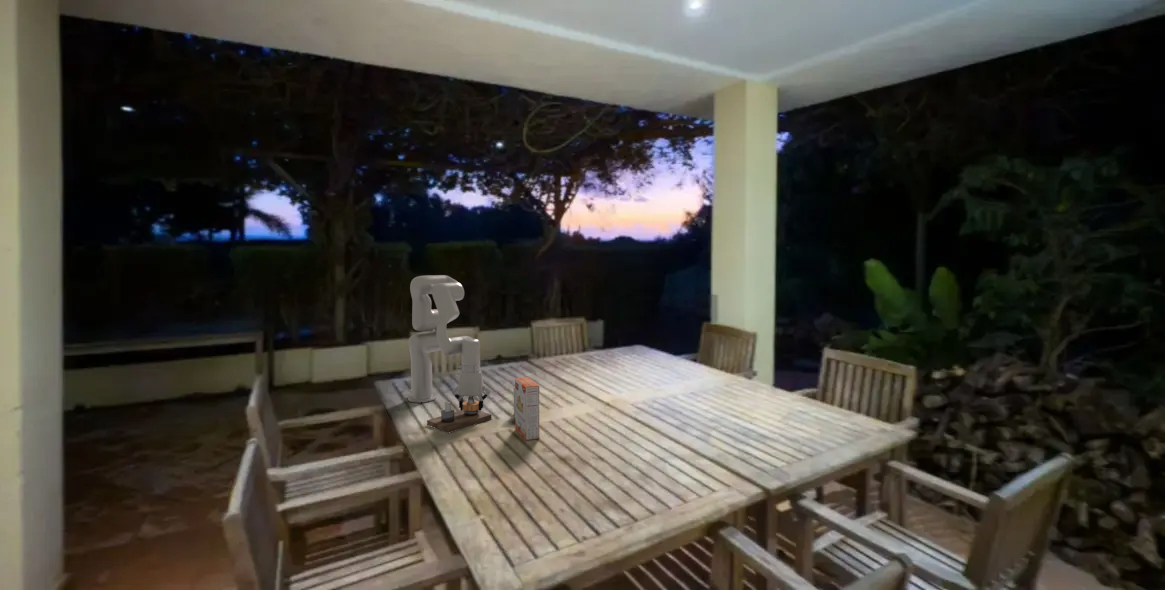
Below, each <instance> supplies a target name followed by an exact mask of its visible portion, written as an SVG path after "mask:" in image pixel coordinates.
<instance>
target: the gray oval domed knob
mask: <svg viewBox="0 0 1165 590" xmlns="http://www.w3.org/2000/svg"><path fill="white" fill-rule="evenodd" d="M451 406H452V402H451V401H446V402H444V409H442V410H441V412H440V414H441V415H440V416H441V422H443V423H451V422H454V421H455V420H454V412H455V410H454V409H451V408H452V407H451Z"/></svg>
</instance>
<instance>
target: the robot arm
mask: <svg viewBox="0 0 1165 590" xmlns="http://www.w3.org/2000/svg"><path fill="white" fill-rule="evenodd" d="M409 286H410V287H409V289H410V295H411V296H410V297H411V299H412V301H411V303H412V308H411V309H412V313H411V317H412V319H411V321H412V322H411V324H412V328H413V329H414V330H415V331H419V333H418V332H417V333H415V334H413V335H411V336H410V337H409V338H408V342H407V343H408V344H407V345H408V349H409V350H408V351H409V356H410V378H411V379H410V387H411V388H410V389H408V392H409V393H410V395H409V396H408V398H407V401H409V402H411V403H419V404H421V402H422V403H428V401H429V402H432V401H435V400H436V398H437V396H436V394H433V364H432V363H433V362H432V361H433V360H431V357H430V356H428V354H429V353H433V352H439V351H441V353H442V354H443V356H448V357H450V356H456V355H461V364H460V365H458V366H457V368H458V369H459V370H460V372H459V374H458V381H457V383H458V385H457V386H456V387H455V388H454V389H452V391H451V394H452V395H453V396H454V397H455V399H457V401H458V408H459V411H462V410H463V409H462V403H463V402H465V401H464V399H463V398H464V397H469V396H473V397H478V399H479V400H478V401H479V411H482V409H484V400H485V399H486V398H487V397H488V396H489V395H490V393H491V390H490V389H489V388H488V387H487V386H485V385H484V378H483V373H482V370H481V343H480V340H479V339H478V338H472V337H471V336H469V335H461V336H460V335H459V336H454V337H453V336H452V337H449V336H448V333H447V324H449V323H450V322H453V321H454V320H456V319H457V318H458V317H459V315H460V310H459V306H458V305H457V301H461V300H463V299H464V297H465V289H464V286H463V285H462V284H461V283H460V282H458V281H457V280H456V279H454V278H452V277H451V276H449V275H445V274H443V275H442V274H439V275H437V274H435V275H430V274H428V275H419V276H418V275H417V276H416V277H414V278H413V279H412V280H411V282H410V285H409ZM429 295H432V298H433V301H434V305H435V307H436V309H435V308H434V309H432V299H431V297H430V296H429ZM430 330H431V331H430ZM421 331H430V332H421ZM484 392H485V393H484ZM483 393H484V395H483Z"/></svg>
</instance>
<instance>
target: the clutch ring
mask: <svg viewBox="0 0 1165 590" xmlns="http://www.w3.org/2000/svg"><path fill="white" fill-rule="evenodd" d="M479 401H480V400H474V404H468V400H466V401H464V402H463V403H462V409H463V410H464V411H476V410H479Z"/></svg>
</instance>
